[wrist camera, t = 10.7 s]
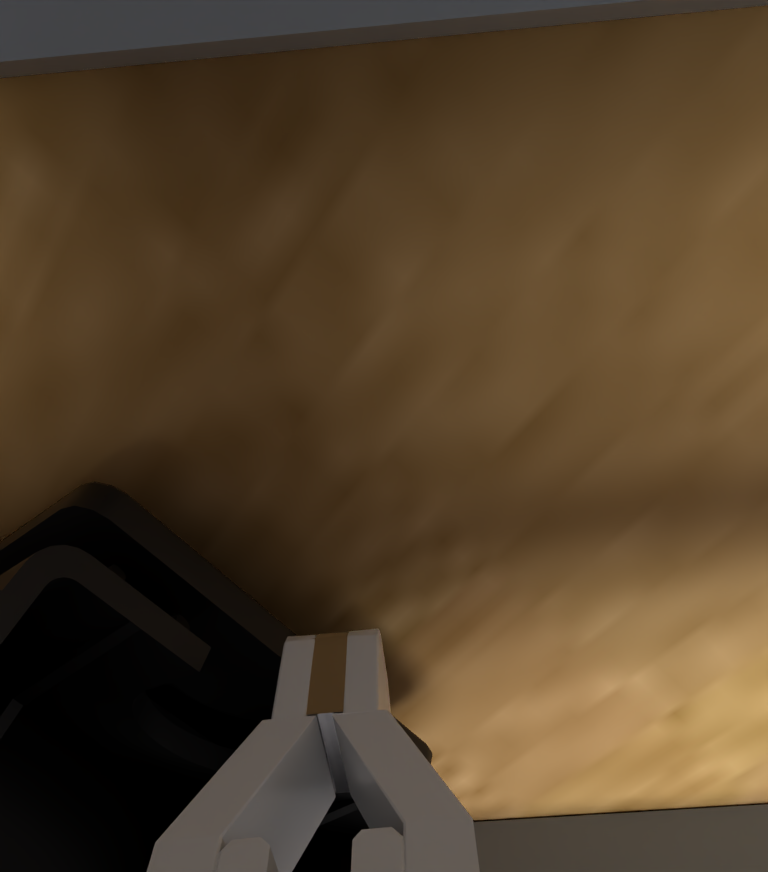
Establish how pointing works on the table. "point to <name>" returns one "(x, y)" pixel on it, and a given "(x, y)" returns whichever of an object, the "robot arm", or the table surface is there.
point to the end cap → (127, 688)
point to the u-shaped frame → (369, 23)
